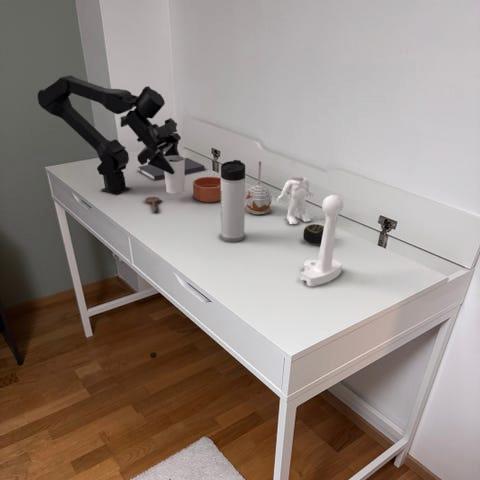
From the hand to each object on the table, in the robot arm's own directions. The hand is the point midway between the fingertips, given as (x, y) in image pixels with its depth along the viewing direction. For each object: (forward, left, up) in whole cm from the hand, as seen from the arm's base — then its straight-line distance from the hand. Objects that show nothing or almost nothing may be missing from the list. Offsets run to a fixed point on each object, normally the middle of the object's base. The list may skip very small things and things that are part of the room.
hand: (178, 170), depth 143 cm
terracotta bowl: (+7, +7, -10) cm, 14 cm away
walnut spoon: (-4, -8, -10) cm, 13 cm away
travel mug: (+28, -14, -10) cm, 33 cm away
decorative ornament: (+25, +6, -10) cm, 28 cm away
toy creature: (+38, +6, -10) cm, 40 cm away
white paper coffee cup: (-1, 0, -7) cm, 7 cm away
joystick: (+56, -21, -10) cm, 61 cm away
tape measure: (+49, -4, -10) cm, 50 cm away
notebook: (-21, +23, -10) cm, 32 cm away
